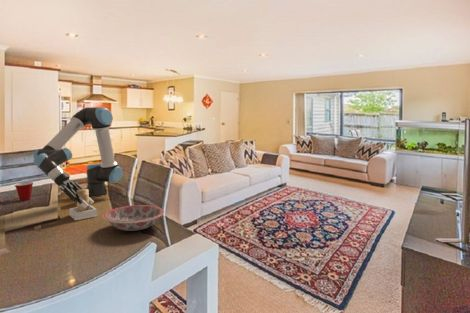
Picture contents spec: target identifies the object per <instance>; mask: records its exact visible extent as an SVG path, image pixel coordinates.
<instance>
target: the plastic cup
mask: <svg viewBox="0 0 470 313" xmlns="http://www.w3.org/2000/svg"><path fill="white" fill-rule="evenodd" d="M13 185H14V187H15V188H16V191H17V192H16V193H17V195H18V198H19V201H20V200H22V201H21V202H25V200H28V201H30V200H31V199H32V198H31V197H32V191H33V185H34V181H23V182H18V183H14V184H13Z"/></svg>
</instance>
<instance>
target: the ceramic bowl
mask: <svg viewBox="0 0 470 313" xmlns="http://www.w3.org/2000/svg"><path fill="white" fill-rule="evenodd" d="M164 214H165V212H164V209H163V208H161V207H159V206H157V205H149V204H148V205H146V204H137V205H136V204H135V205H125V206H120V207H116V208H112V209H110V210H108V211H106V212H104V213H103V220H105V221H107V222H108V223H109V224H110V225H111V226H112V227H114V228H115V229H117V230H120V231H124V232H135V231H141V230H146V229H148V228H149V227H152V226H153V225H154V224H155V223H157V221H158V220H159V219H160V217H162V216H163V215H164Z"/></svg>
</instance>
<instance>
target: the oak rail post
mask: <svg viewBox="0 0 470 313" xmlns="http://www.w3.org/2000/svg"><path fill="white" fill-rule="evenodd" d="M76 194H77V195H78V196H79V197H81V198H82V199H83V200H84V201H85V202H86V203H87V204H88V206H87V207H86V208H84V207H83V206H82V205H81V204H79V203H78V202H77V201H76V207H77V212H82V211H88V210H89V205H90V204H89V190H88V189H86V188H83V189H80V190H77V192H76Z"/></svg>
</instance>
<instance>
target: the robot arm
mask: <svg viewBox="0 0 470 313" xmlns="http://www.w3.org/2000/svg"><path fill="white" fill-rule="evenodd" d="M113 116H114V115H113V114H112V112H111V110H109V109H108V108H106V107H100V106H98V107H97V106H96V107H95V106H94V107H91V106H89V107H84V108H81V109H79V111H77V112H76V113H74V114H73V115H72V116H71V118H69V120H70V121H69V122H68V123H67V124H66V125H65V126H64V127H63V128H62V129H60V131H59V132H57V133H56V135H54V136H53V138H51V140H50V141H49V142H48V143H46V144H45V145H44V147H43V148H39V149H36V150H35V151H34V152H33V156H32V157H33V164H34V165H35V166H36V167H37V168H39V170H41V172H43V173H44V174H45V175H47V177H48V178H49V179H51V181H53V182H54V184H56V185H57V186H60V187H59V190H61V191H62V192H64V194H65V195H66V196H67V197H68V198H69V199H70V200H71V201H72V202H76V203H77V202H78V203H79V204H81V205H82V206H83V207H84V208H86V207H87V206H88V204H87V203H86V202H85V201H84V200H83V199H82V198H81V197H79V196H78V195H77V190H80V189H84V188H83V187H82V186H81V185H80V184H79V183H78V182H77V181H76V180H73V181H72V180H71V179H70V178H71V177H70V175H69V174H67V172H65V171H64V170H63V168H61V167H60V165H62V164H64V163H67V162H68V161H69V160H71V159H72V158H73V153H72V151H71V150H70V149H69V148H67V147H64V146H65V145H66V144H67V143H68V142H69V141H70V140H71V138H73V137H74V136H75V135H76V134H77V133H78V132H79V131H80V130H81V129H84V128H85V127H86V126H88V125H91V129H93V130H94V131H95V136H96V141H97V145H98V150H99V155H100V160H101V163H93V164H88V165H87V166H86V180H87V182H86V188H85V189H88V190H89V196H97V197H102V195H104V196H106V195H105V194H107V193H108V189H107V186H106V184H105V182H106V183H118V182H119V181H121V179H122V177H123V174H124V170H123V168H122V167H121V166H119V165H118V162H117V161H116V160H115V156H114V150H113V144H112V138H111V134H110V128H111V124H112V123H113V119H114V118H113ZM107 195H108V194H107ZM94 202H95V201H94V199H92V197H89V205H91V206H92V205H93V204H94Z"/></svg>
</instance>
